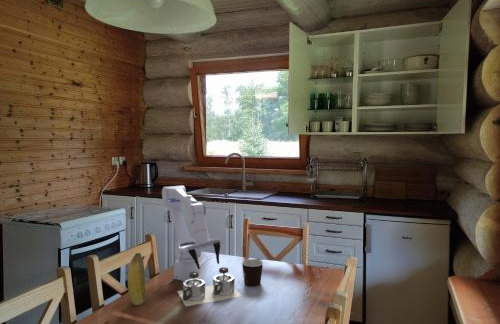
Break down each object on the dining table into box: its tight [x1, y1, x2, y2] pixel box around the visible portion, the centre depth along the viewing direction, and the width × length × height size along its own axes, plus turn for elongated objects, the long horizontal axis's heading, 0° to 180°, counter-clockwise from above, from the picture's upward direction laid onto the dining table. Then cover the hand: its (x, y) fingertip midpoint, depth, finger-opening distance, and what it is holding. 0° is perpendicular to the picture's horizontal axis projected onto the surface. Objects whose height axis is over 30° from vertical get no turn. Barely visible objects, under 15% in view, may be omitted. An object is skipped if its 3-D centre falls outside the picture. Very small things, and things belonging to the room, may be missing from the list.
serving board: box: [176, 284, 242, 307], centre depth 148 cm, size 22×14×1 cm, turn 113°
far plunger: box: [218, 267, 230, 281], centre depth 150 cm, size 5×5×4 cm
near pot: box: [182, 277, 206, 301], centre depth 144 cm, size 8×11×5 cm
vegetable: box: [127, 252, 146, 306], centre depth 139 cm, size 6×6×20 cm
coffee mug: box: [241, 258, 264, 288], centre depth 159 cm, size 12×9×10 cm
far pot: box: [212, 273, 235, 296], centre depth 149 cm, size 8×11×5 cm
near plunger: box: [188, 271, 200, 286], centre depth 145 cm, size 5×5×4 cm
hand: (208, 266), depth 145 cm, fingers open, 7 cm apart
